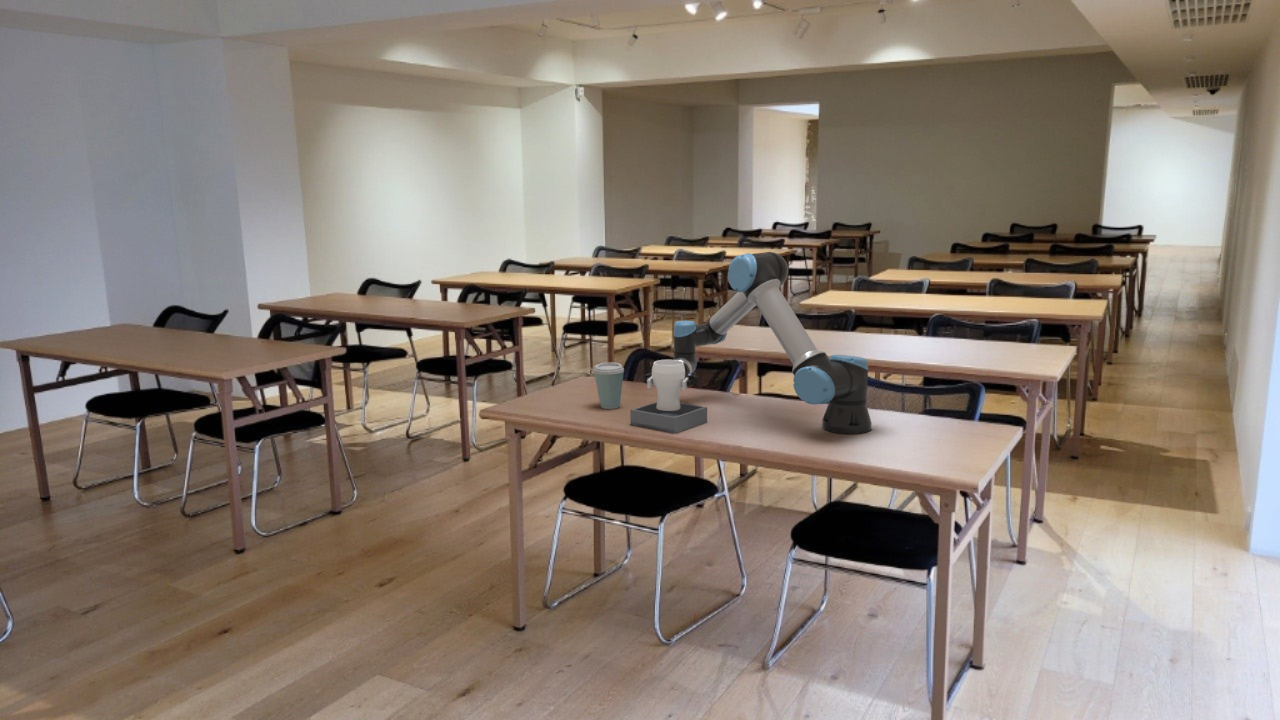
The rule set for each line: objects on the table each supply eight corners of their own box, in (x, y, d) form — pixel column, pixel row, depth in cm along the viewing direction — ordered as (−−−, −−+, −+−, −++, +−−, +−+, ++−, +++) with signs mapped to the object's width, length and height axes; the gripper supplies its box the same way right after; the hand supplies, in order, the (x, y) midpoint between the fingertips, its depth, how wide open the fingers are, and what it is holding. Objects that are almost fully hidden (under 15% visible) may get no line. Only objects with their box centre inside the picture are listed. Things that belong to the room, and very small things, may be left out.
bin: (707, 422, 297) (707, 407, 296) (674, 433, 283) (675, 417, 282) (663, 414, 307) (663, 399, 306) (630, 424, 294) (630, 409, 293)
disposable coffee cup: (624, 410, 312) (623, 367, 310) (592, 410, 313) (591, 367, 310) (625, 403, 323) (624, 361, 320) (594, 403, 323) (594, 361, 320)
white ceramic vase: (685, 412, 289) (686, 365, 287) (652, 412, 289) (652, 365, 287) (683, 404, 300) (684, 359, 297) (651, 404, 300) (651, 359, 297)
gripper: (712, 383, 308) (701, 398, 287) (645, 380, 313) (630, 394, 292) (712, 362, 307) (702, 375, 286) (645, 359, 312) (630, 371, 291)
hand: (665, 385), depth 289 cm, fingers closed on white ceramic vase, 11 cm apart
